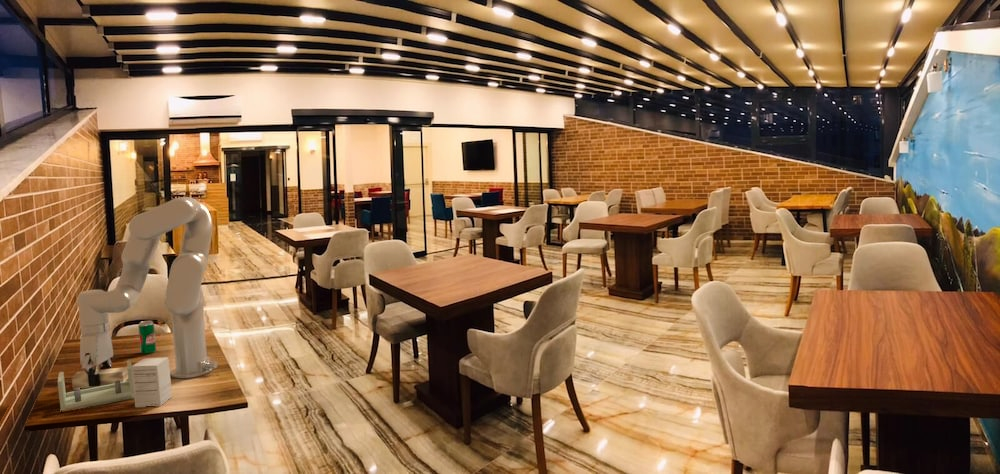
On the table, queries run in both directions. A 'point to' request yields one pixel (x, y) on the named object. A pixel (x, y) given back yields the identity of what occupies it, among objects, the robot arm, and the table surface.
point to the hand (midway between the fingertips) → (100, 381)
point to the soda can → (147, 337)
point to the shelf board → (105, 377)
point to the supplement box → (151, 382)
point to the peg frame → (95, 393)
